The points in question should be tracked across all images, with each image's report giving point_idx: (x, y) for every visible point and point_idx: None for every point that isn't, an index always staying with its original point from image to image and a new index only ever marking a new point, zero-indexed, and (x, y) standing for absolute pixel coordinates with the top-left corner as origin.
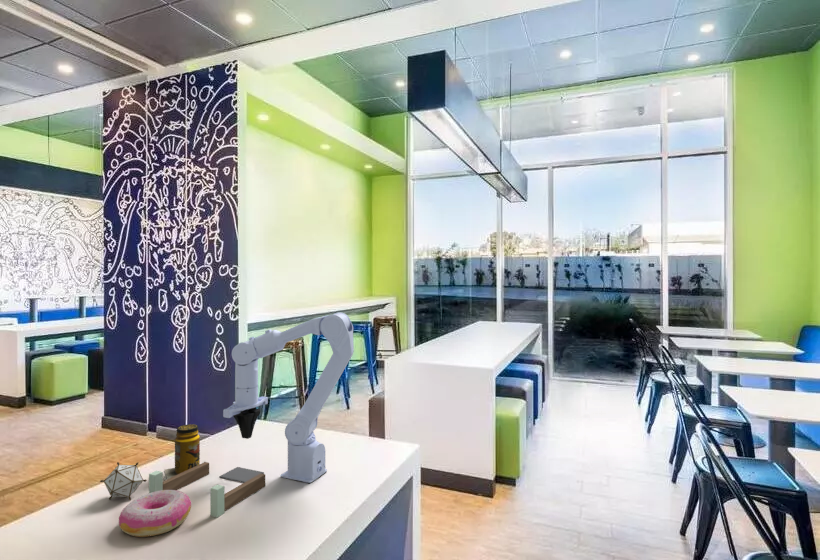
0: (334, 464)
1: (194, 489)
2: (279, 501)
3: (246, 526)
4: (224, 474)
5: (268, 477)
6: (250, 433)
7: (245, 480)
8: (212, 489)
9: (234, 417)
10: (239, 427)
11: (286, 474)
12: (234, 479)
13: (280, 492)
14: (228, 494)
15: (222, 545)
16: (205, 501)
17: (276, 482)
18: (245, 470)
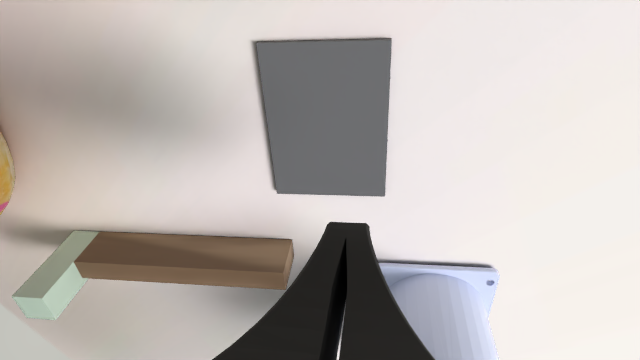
0: (545, 349)
1: (114, 35)
2: (244, 325)
3: (117, 320)
4: (284, 50)
5: None
6: (345, 299)
7: (286, 180)
8: (18, 301)
9: (224, 354)
10: (299, 277)
11: (389, 281)
12: (269, 135)
13: None
14: (110, 274)
15: (45, 319)
16: (101, 157)
17: None
18: (368, 113)
